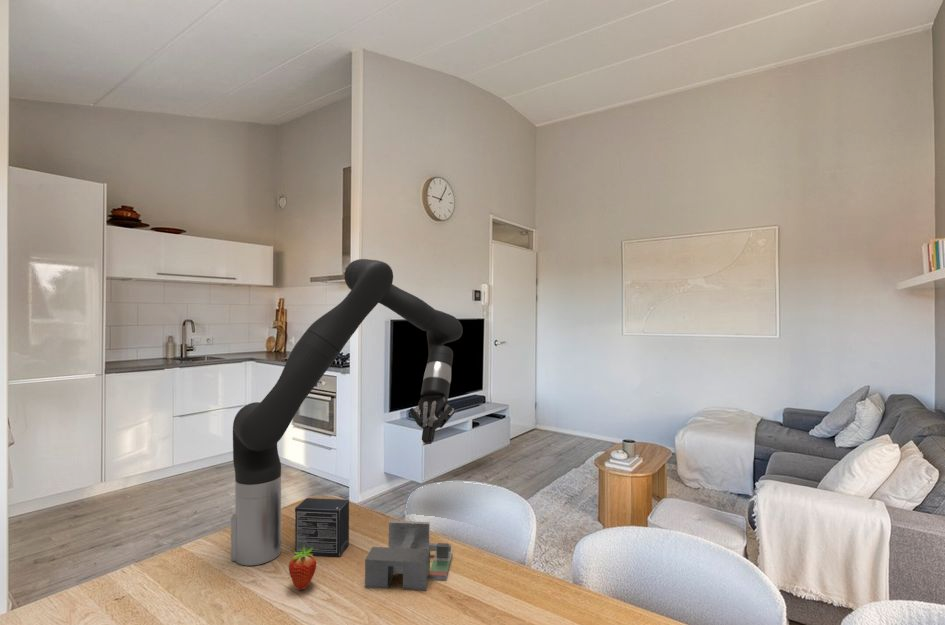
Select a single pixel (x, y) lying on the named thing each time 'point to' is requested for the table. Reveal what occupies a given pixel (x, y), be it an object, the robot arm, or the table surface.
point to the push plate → (410, 537)
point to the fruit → (302, 568)
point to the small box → (322, 526)
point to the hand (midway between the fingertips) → (427, 443)
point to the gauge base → (404, 567)
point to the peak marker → (442, 550)
